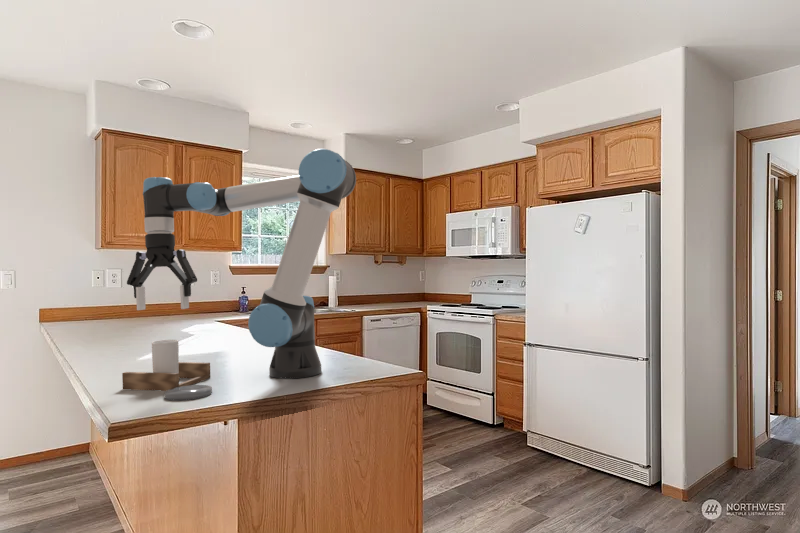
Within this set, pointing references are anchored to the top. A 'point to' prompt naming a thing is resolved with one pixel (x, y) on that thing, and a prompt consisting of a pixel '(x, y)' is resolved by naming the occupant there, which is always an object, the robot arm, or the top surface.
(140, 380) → the rack
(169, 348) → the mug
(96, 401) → the top surface
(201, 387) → the disc
